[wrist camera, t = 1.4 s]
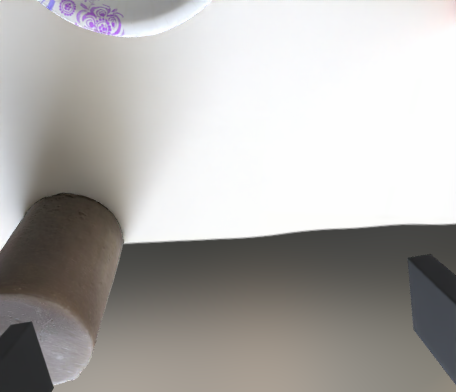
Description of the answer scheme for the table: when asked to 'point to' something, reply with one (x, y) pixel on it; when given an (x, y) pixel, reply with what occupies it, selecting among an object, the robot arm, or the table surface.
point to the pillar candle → (61, 278)
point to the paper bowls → (126, 14)
